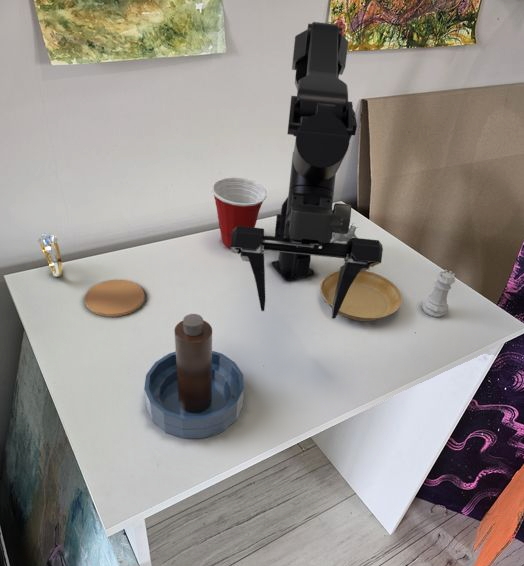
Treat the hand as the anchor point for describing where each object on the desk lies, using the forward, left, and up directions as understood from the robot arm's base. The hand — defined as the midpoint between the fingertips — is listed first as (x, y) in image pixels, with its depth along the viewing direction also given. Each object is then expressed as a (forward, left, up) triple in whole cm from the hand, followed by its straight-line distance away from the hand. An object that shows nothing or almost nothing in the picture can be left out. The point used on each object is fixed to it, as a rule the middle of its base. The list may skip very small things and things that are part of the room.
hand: (298, 314), depth 63 cm
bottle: (-3, -13, -13) cm, 19 cm away
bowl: (-3, -13, -14) cm, 20 cm away
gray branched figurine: (-33, +31, -14) cm, 47 cm away
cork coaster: (-31, -17, -14) cm, 38 cm away
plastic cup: (-41, +11, -14) cm, 44 cm away
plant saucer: (-14, +23, -14) cm, 30 cm away
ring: (-42, -25, -14) cm, 51 cm away
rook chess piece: (-7, +35, -14) cm, 38 cm away
